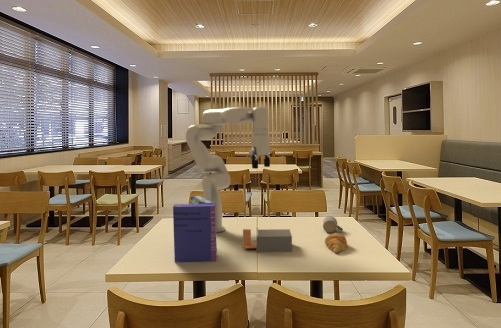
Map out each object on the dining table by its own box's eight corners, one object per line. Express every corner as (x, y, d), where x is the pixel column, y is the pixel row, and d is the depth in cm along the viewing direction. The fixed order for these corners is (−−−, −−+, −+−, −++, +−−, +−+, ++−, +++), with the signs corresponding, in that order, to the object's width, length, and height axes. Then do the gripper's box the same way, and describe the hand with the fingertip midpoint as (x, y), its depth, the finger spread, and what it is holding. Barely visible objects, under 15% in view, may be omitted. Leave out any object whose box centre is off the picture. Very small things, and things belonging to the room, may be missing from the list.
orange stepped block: (242, 248, 169) (242, 232, 168) (243, 242, 177) (243, 227, 177) (278, 248, 169) (278, 231, 168) (277, 242, 177) (277, 227, 176)
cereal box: (216, 257, 160) (215, 203, 158) (216, 261, 156) (214, 205, 153) (176, 258, 160) (175, 203, 158) (174, 262, 155) (172, 206, 153)
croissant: (343, 262, 162) (352, 247, 161) (322, 251, 163) (331, 236, 162) (340, 246, 183) (348, 233, 181) (322, 236, 184) (330, 223, 182)
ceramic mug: (322, 233, 196) (322, 219, 195) (323, 229, 204) (323, 215, 203) (343, 234, 194) (343, 220, 193) (342, 230, 202) (343, 216, 201)
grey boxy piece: (256, 251, 167) (256, 235, 166) (256, 243, 179) (256, 227, 179) (291, 251, 167) (291, 234, 166) (289, 243, 179) (289, 227, 178)
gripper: (264, 132, 189) (265, 165, 190) (243, 133, 176) (244, 168, 177) (277, 132, 184) (277, 166, 186) (255, 132, 171) (256, 169, 172)
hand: (261, 167), depth 181 cm, fingers open, 9 cm apart
